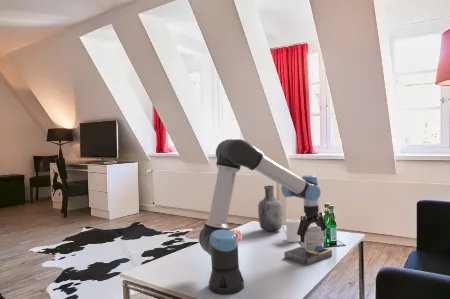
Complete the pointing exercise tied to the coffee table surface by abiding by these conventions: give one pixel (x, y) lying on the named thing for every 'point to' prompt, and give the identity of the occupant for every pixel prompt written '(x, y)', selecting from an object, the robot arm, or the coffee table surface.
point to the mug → (292, 230)
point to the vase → (270, 211)
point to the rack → (307, 255)
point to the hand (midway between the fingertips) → (313, 245)
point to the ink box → (313, 238)
